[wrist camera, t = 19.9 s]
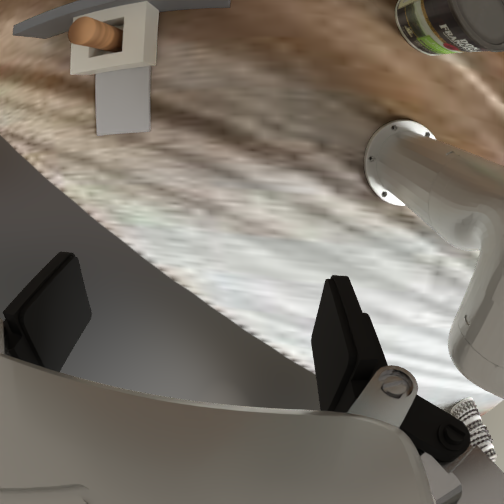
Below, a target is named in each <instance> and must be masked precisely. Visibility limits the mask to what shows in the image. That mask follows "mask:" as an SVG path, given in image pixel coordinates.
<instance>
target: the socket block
mask: <svg viewBox="0 0 504 504" xmlns="http://www.w3.org/2000/svg"><path fill="white" fill-rule="evenodd" d="M84 16H87V17H90V18H93V19H96V20H98V21H101V22H104V23H106V24H109V25H111V26H114V27H116V28H119V29H121V30H123V44H122V52H116V53H115V52H110V51H106V50H101V49H97V48H92V47H87V46H82V45H76V44H73V43H71V61H70V75H92V74H98V73H103V72H109V71H115V70H122V69H129V68H137V67H145V66H155V65H156V56H157V35H158V19H159V10H158V9H157V8H155V7H154V6H153V5H152V4H150V3H149V2H148V1H143V2H138V3H132V4H127V5H122V6H117V7H112V8H108V9H104V10H100V11H96V12H92V13H88V14H84V15H81V16H78V17H74V18H73V22H74V21H75V20H77V19H78V18H80V17H84Z"/></svg>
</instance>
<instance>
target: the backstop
mask: <svg viewBox="0 0 504 504" xmlns="http://www.w3.org/2000/svg"><path fill="white" fill-rule="evenodd" d="M143 1H148V2H149V3H150V4H152V5H153V6H154V7H155V8H157V9H158V10H159V12H164V11H174V10H185V9H199V8H230V0H79V1H75V2H72V3H69V4H66V5H63V6H61V7H58V8H55V9H52V10H50V11H47V12H44V13H42V14H39V15H37V16H34V17H32V18H30V19H27V20H25V21H23V22H21V23H18V24H16V25H14V28H13V35H14V36H25V37H35V38H43V39H46V38H49V37H52V36H55V35H58V34H61V33H64V32H67V31H69V28H70V26H71V25H72V23H73V18H74V17H78V16H81V15H84V14H88V13H92V12H96V11H100V10H104V9H108V8H112V7H117V6H122V5H127V4H132V3H138V2H143ZM150 78H151V66H145V67H137V68H129V69H122V70H115V71H109V72H103V73H98V74H96V82H95V90H96V127H97V136H100V135H110V134H121V133H135V132H150V131H151V122H150Z"/></svg>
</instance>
